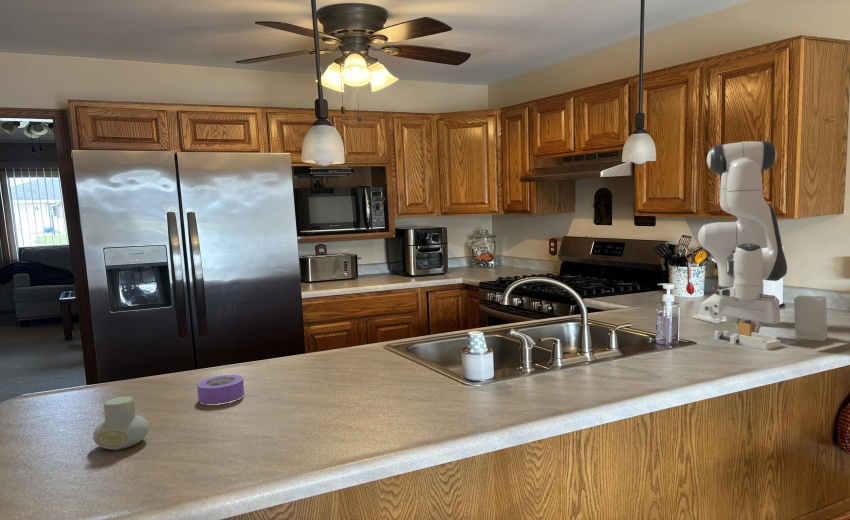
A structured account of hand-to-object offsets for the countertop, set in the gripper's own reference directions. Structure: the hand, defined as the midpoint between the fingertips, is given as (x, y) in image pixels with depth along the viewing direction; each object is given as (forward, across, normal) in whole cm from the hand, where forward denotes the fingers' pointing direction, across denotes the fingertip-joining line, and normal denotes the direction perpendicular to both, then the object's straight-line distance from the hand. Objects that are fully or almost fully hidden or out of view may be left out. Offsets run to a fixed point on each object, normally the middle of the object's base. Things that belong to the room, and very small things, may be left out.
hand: (747, 332), depth 197 cm
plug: (+2, 0, 0) cm, 2 cm away
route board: (+3, -3, +3) cm, 5 cm away
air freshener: (+3, +20, +189) cm, 190 cm away
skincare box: (+3, -12, -15) cm, 19 cm away
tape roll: (+3, +41, +165) cm, 170 cm away
